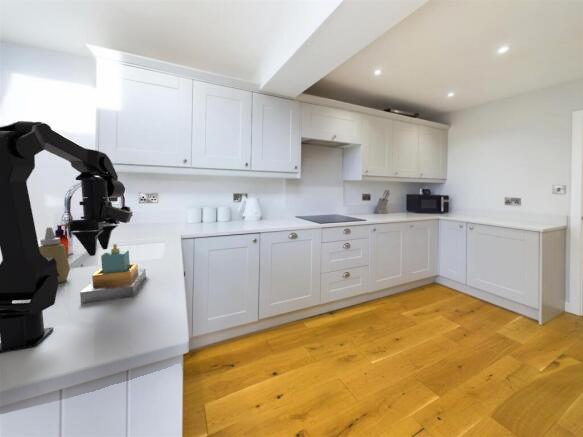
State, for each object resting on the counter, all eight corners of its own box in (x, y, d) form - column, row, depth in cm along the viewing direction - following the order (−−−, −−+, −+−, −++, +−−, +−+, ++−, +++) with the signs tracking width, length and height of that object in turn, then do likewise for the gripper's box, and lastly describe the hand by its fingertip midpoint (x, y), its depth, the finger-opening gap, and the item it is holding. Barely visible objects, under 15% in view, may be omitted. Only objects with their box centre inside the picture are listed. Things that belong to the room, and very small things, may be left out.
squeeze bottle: (50, 287, 76) (44, 229, 75) (30, 285, 78) (23, 229, 76) (77, 278, 84) (72, 226, 83) (58, 277, 86) (53, 225, 84)
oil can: (125, 280, 74) (123, 245, 73) (103, 282, 72) (100, 246, 71) (130, 274, 79) (128, 241, 78) (109, 276, 77) (106, 243, 76)
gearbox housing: (133, 296, 69) (132, 275, 69) (81, 303, 65) (79, 281, 65) (146, 275, 87) (145, 258, 87) (105, 279, 83) (104, 262, 82)
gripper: (118, 197, 64) (122, 257, 65) (136, 197, 81) (139, 244, 83) (64, 197, 60) (69, 260, 61) (95, 197, 78) (98, 247, 79)
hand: (99, 252), depth 71 cm, fingers open, 9 cm apart
